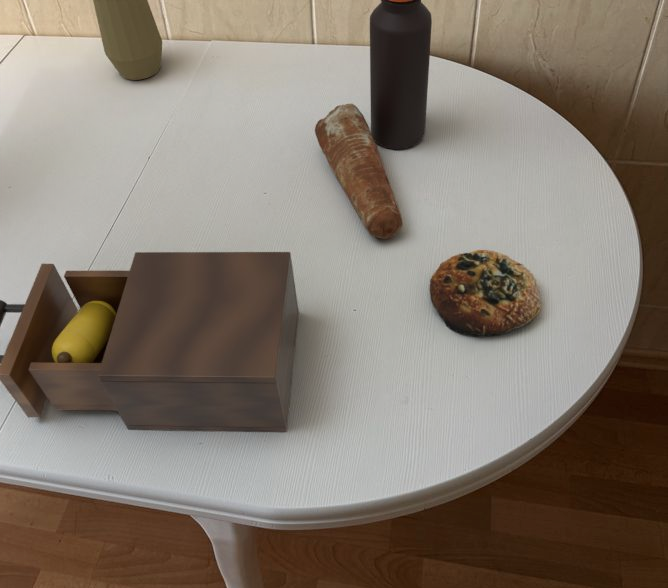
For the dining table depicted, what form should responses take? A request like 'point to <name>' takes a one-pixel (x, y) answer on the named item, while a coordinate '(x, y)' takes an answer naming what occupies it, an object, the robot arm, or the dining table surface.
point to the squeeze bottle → (130, 37)
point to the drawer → (42, 330)
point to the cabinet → (204, 342)
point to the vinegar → (399, 72)
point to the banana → (85, 334)
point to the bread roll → (484, 293)
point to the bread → (359, 169)
